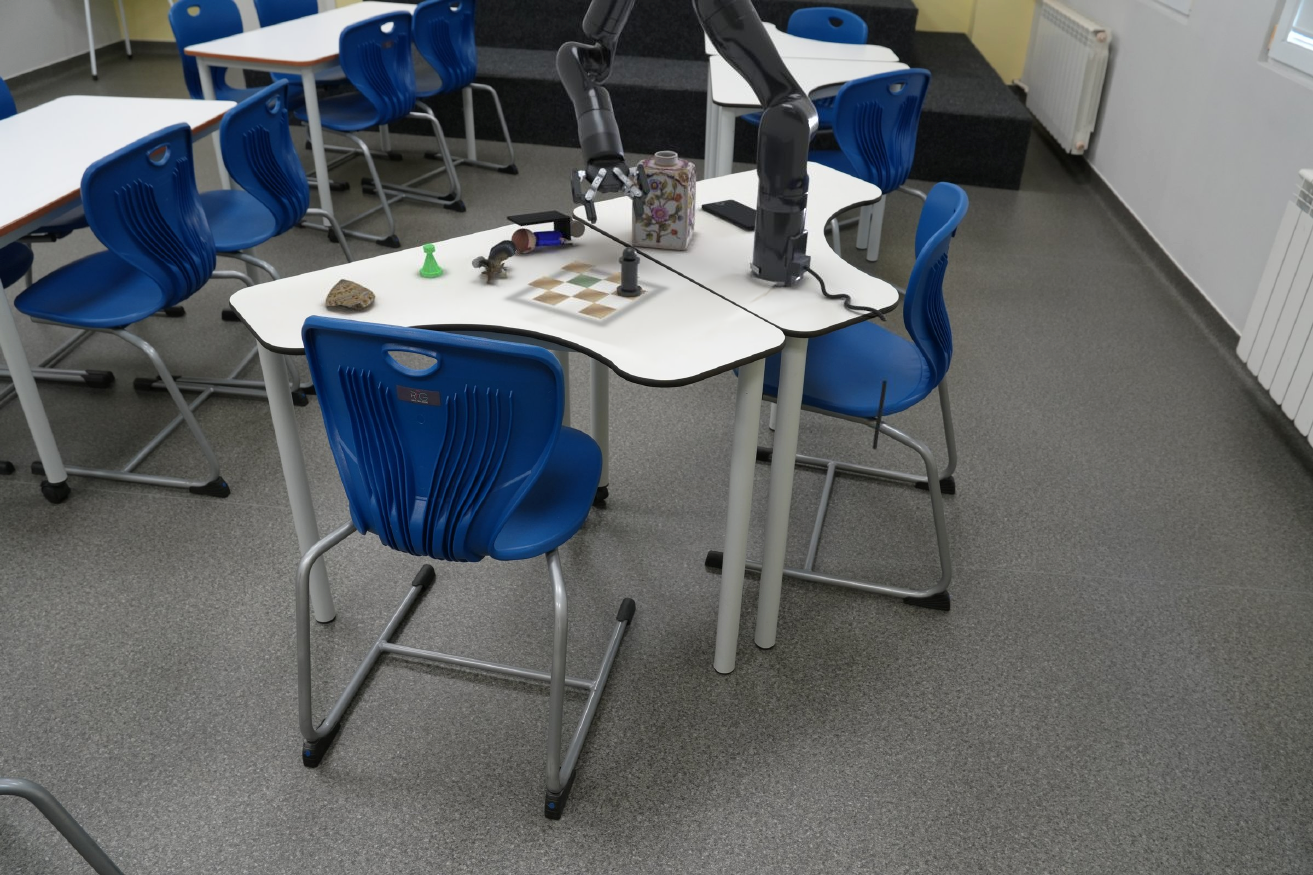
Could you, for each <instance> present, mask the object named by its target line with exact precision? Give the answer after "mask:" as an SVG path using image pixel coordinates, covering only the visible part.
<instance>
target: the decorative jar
mask: <svg viewBox="0 0 1313 875" xmlns="http://www.w3.org/2000/svg"><path fill="white" fill-rule="evenodd" d="M639 164H642V165H643V166H644V169H645V173H646V176H647V180H648V183H649V187H650V193H649V194H648V197H647V199H642V202H643V207H644V215H643V217H642V218H641V220H639V221H636V218H635V213H634V209H633V204H632V203H633V201H632V200H631V245H632V247H638V248H639V247H640V248H650V249H651V248H653V249H663V250H676V251H686V250H687V248H688V246H689V244H690V241H691V239H692V237H693V235H694V233H695V223H696V204H697V203H696V202H697V201H696V200H697V198H696V197H697V174H698V172H697V168H696V166H695V164H694V163H692V162H691V161H688V160H686V159H683V158H679V156H678V153H677V152H675V151H671V150H662V151H657V152H655V153H654V156H653V157H649V158H645V159H641V160H639V161H638V162H637V164H636V166H635V167H637V166H638V165H639ZM632 182H633V184H634V186H635V187H636V188H637V189H638V190H639V187H638V183H637V180H635V179H634V178H633V177H632Z"/></svg>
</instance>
